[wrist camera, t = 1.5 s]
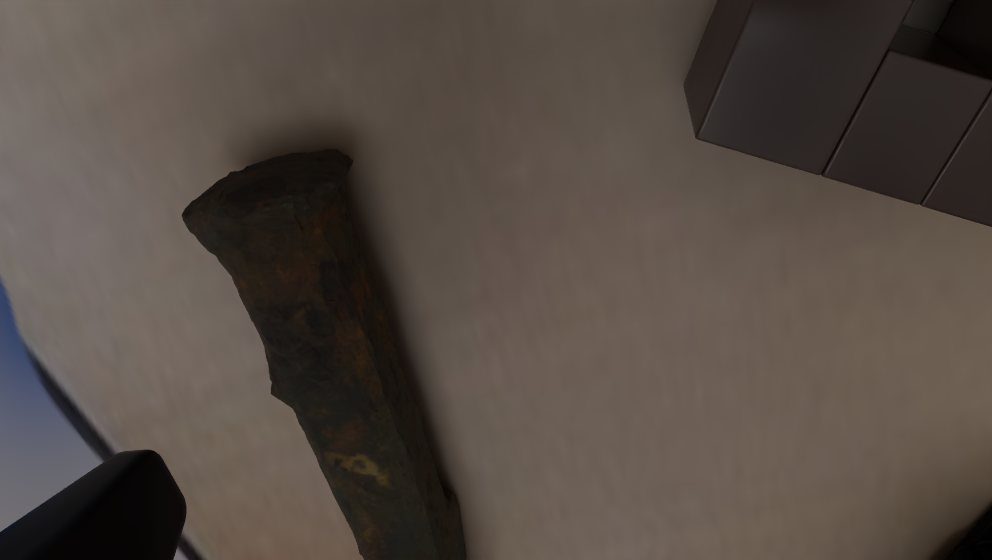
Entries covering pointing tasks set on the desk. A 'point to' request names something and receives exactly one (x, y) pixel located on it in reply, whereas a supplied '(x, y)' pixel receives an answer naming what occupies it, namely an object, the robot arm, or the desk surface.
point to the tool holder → (854, 95)
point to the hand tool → (331, 347)
